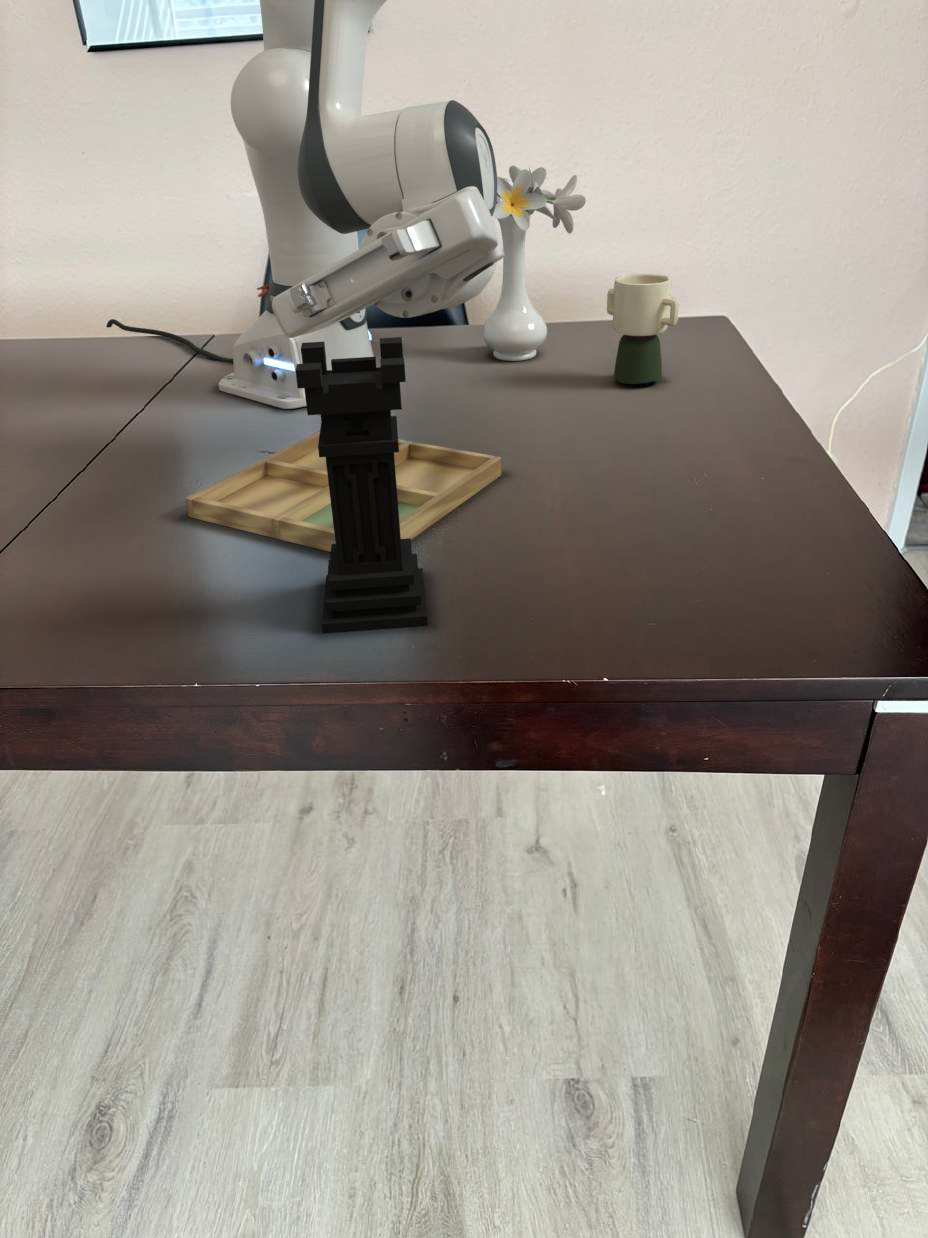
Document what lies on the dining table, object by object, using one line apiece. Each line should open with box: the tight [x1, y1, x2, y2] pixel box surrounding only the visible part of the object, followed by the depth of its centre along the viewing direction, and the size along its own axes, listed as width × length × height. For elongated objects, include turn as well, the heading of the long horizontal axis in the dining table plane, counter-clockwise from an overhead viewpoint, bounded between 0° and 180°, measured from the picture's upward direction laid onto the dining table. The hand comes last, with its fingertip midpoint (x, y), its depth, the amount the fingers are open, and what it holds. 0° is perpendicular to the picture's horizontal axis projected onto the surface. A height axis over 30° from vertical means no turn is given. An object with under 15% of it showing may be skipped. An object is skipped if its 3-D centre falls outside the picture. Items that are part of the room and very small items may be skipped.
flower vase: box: [481, 165, 587, 362], centre depth 132 cm, size 13×18×25 cm
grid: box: [184, 430, 502, 553], centre depth 95 cm, size 22×22×2 cm
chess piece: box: [295, 336, 429, 634], centre depth 71 cm, size 8×8×20 cm
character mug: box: [606, 273, 680, 386], centre depth 121 cm, size 11×7×13 cm, turn 43°
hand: (342, 272), depth 74 cm, fingers open, 8 cm apart
